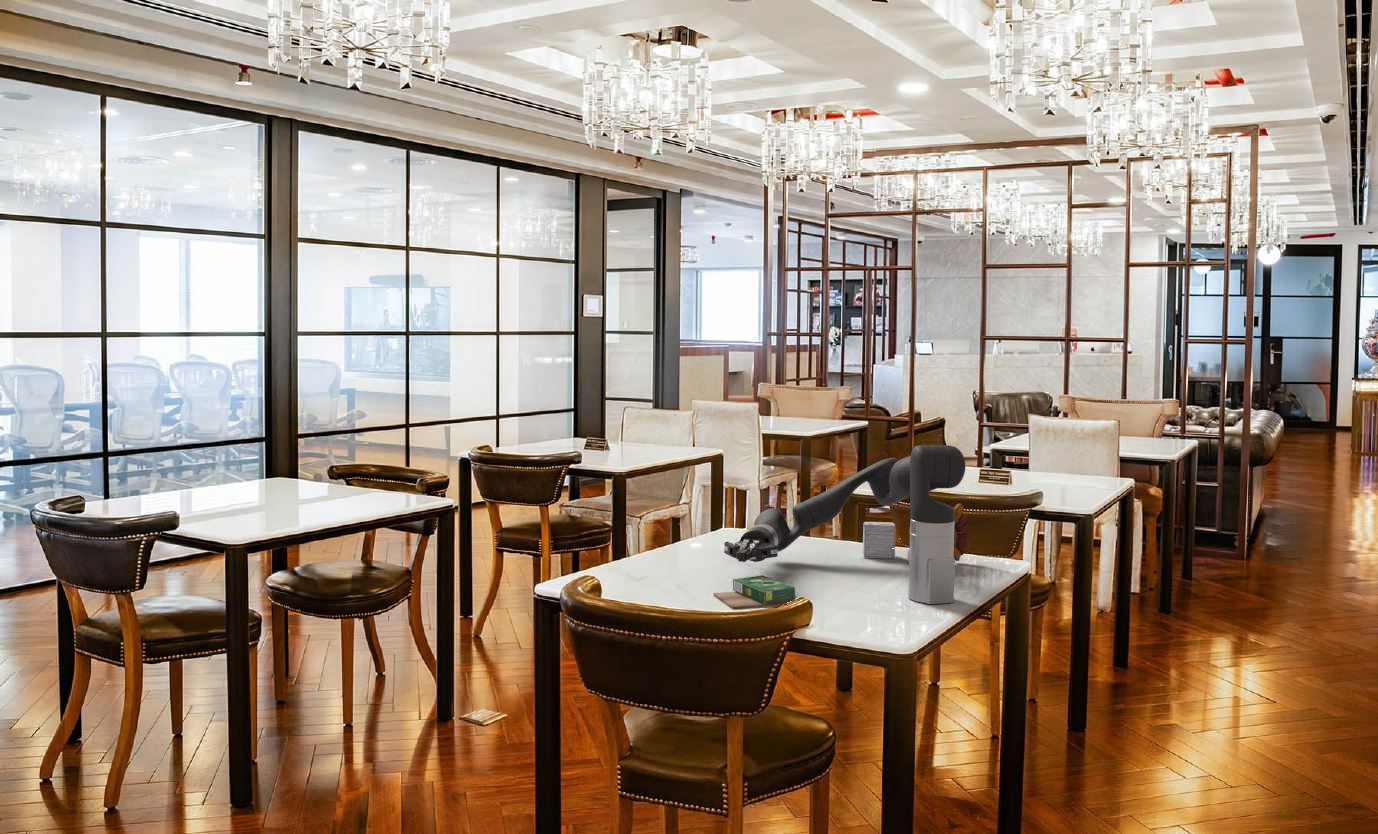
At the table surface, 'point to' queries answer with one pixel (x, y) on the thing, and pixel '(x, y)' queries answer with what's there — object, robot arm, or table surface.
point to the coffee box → (764, 589)
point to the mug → (957, 533)
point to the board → (743, 601)
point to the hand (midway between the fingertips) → (741, 557)
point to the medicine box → (879, 540)
